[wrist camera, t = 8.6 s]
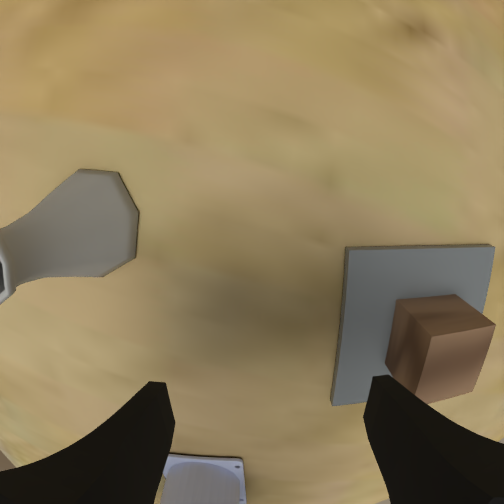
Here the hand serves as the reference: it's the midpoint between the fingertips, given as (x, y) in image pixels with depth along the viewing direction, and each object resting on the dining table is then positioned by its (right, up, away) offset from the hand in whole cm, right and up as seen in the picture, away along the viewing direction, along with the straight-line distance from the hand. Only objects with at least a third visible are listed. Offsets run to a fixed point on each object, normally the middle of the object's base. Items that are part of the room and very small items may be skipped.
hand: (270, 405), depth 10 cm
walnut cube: (+11, 0, +9) cm, 15 cm away
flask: (-11, +7, +9) cm, 16 cm away
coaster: (+11, 0, +10) cm, 15 cm away
